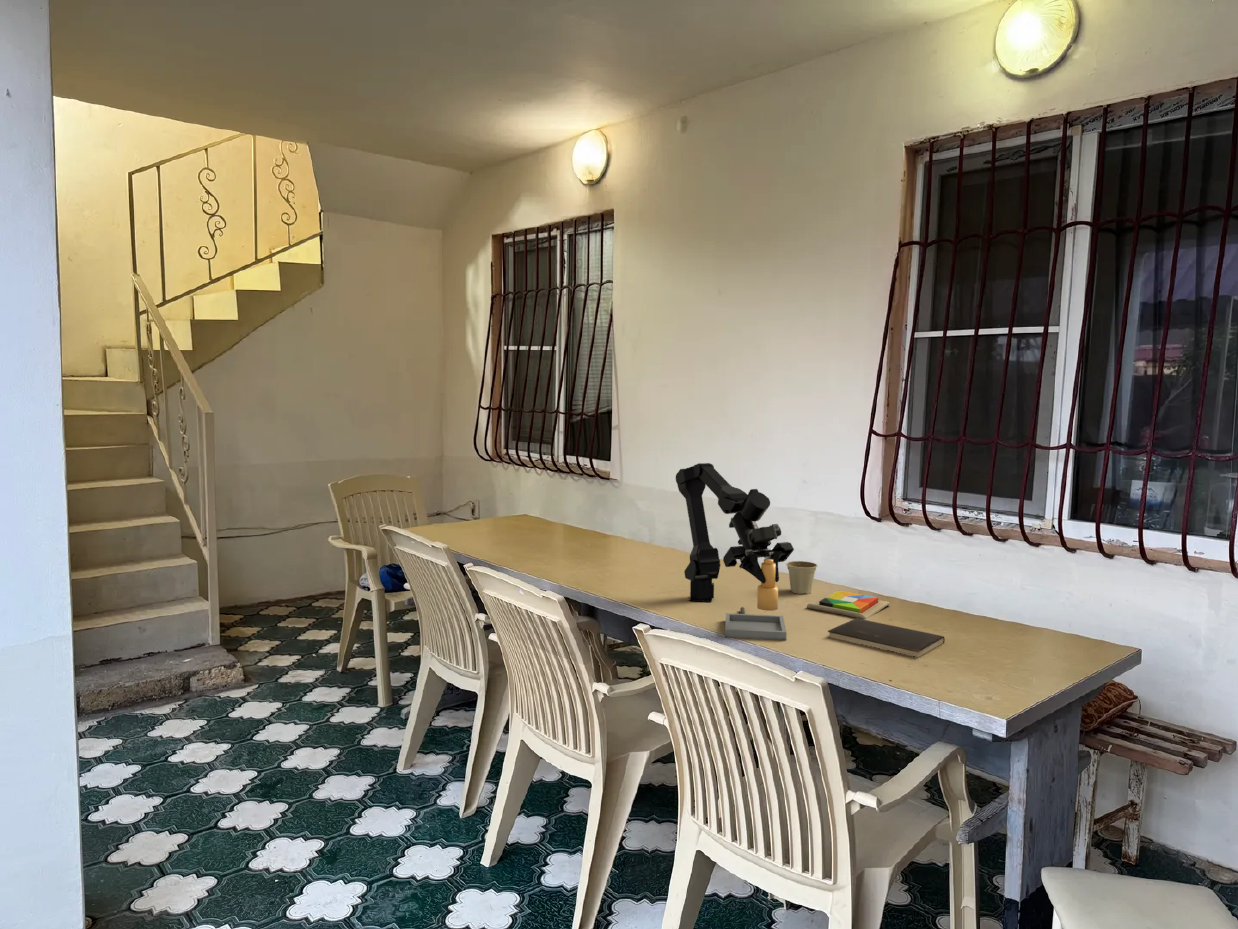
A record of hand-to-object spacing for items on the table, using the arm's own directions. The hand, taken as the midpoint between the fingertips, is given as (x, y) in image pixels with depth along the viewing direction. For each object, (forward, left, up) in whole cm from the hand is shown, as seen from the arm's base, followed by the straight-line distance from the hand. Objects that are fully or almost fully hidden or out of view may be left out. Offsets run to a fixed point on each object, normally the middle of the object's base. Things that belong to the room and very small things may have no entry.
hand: (771, 582), depth 206 cm
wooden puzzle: (+23, +28, -14) cm, 39 cm away
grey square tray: (-4, +1, -13) cm, 13 cm away
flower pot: (+11, +44, -13) cm, 47 cm away
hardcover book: (+28, -2, -14) cm, 31 cm away
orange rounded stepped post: (-1, +1, -7) cm, 7 cm away
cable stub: (-7, +14, -13) cm, 20 cm away
